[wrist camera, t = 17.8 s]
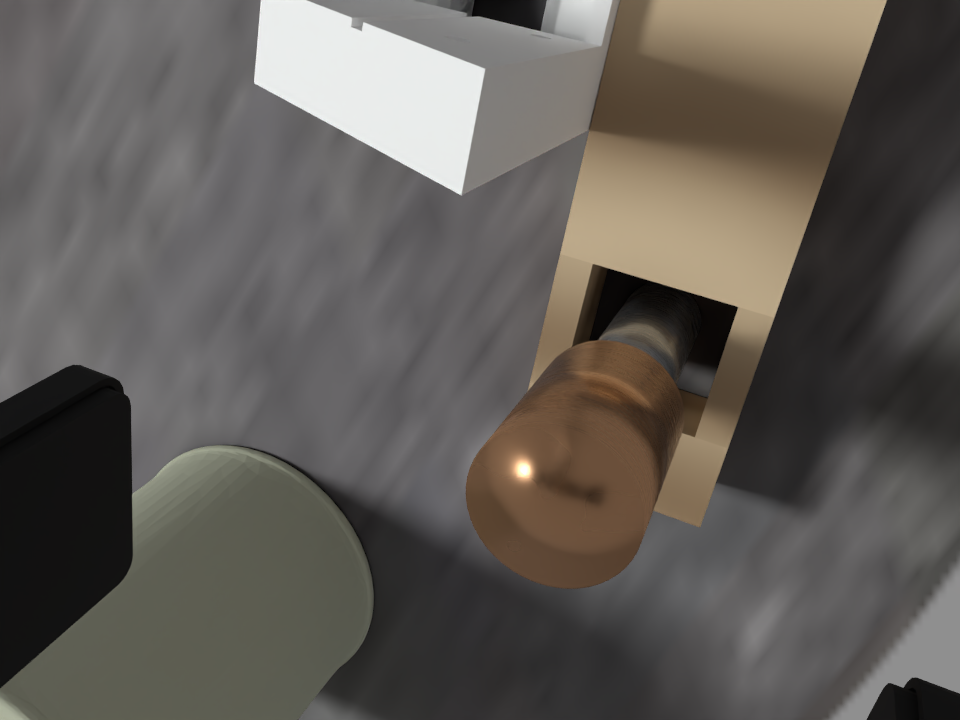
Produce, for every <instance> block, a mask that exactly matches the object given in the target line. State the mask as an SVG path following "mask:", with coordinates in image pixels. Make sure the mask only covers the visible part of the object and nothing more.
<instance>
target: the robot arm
mask: <svg viewBox="0 0 960 720" xmlns="http://www.w3.org/2000/svg"><path fill="white" fill-rule="evenodd" d="M132 559H133V522H132V454H131V405H130V400H129V398H128V396H126V395H125V394H124V391H123V387H122V385H121V383H120V381H118V380H117V379H115V378H113V377H110V376H107V375H105V374H102V373H99V372H97V371H94V370H91V369H89V368H86V367H83V366H81V365H72V366H69V367H66V368H64V369H62V370H60V371H59V372H57V373H55V374H53V375H51V376H49V377H47V378H46V379H44V380H42V381H40V382H38V383H36V384H35V385H33V386H31V387H29V388H27V389H25V390H23V391H22V392H20V393H18V394H16V395H14V396H12V397H10V398H9V399H7V400H5V401H3V402H1V403H0V688H1V687H3V686H4V685H5V684H6V683H7V682H8V681H9V680H11V679H12V678H13V677H14V676H15V675H16V674H17V673H19V672H20V671H21V670H22V669H23V668H24V667H25V666H27V665H28V664H29V663H30V662H31V661H32V660H33V659H34V658H36V657H37V656H38V655H39V654H40V653H41V652H42V651H44V650H45V649H46V648H47V647H48V646H49V645H50V644H52V643H53V642H54V641H55V640H56V639H57V638H58V637H60V636H61V635H62V634H63V633H64V632H65V631H66V630H68V629H69V628H70V627H71V626H72V625H73V624H74V623H76V622H77V621H78V620H79V619H80V618H81V617H82V616H84V615H85V614H86V613H87V612H88V611H89V610H90V609H91V608H93V607H94V606H95V605H96V604H97V603H98V602H99V601H101V600H102V599H103V598H104V597H105V596H106V595H107V594H109V593H110V592H111V591H112V590H113V589H114V588H115V587H117V586H118V585H119V584H120V583H121V582H122V580H123V579H124V578H125V576H126V575H127V573H128V571H129V569H130V567H131V563H132ZM867 720H960V694H959V693H956V692H954V691H951V690H948V689H946V688H943V687H940V686H937V685H935V684H932V683H929V682H927V681H924V680H921V679H919V678H912V679H910V680H909V681H908V682H907V684H906V685H905V687H904V688H902V687H899V686H897V685H894V684H891V683H888V684H887V685H886V686H885V687H884V689H883V690H882V692H881V694H880V695H879V697H878V699H877V701H876V703H875V705H874V707H873V709H872V711H871V712H870V714H869V716H868V718H867Z"/></svg>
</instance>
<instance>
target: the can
mask: <svg viewBox="0 0 960 720" xmlns="http://www.w3.org/2000/svg"><path fill="white" fill-rule="evenodd" d="M132 522H133V559H132V563H131V567H130V569H129V571H128V573H127V575H126V576H125V578H124V579H123V580H122V582H121V583H120V584H119V585H118V586H117V587H115V588H114V589H113V590H112V591H111V592H110V593H109V594H107V595H106V596H105V597H104V598H103V599H102V600H101V601H99V602H98V603H97V604H96V605H95V606H94V607H93V608H91V609H90V610H89V611H88V612H87V613H86V614H85V615H84V616H82V617H81V618H80V619H79V620H78V621H77V622H76V623H74V624H73V625H72V626H71V627H70V628H69V629H68V630H66V631H65V632H64V633H63V634H62V635H61V636H60V637H58V638H57V639H56V640H55V641H54V642H53V643H52V644H50V645H49V646H48V647H47V648H46V649H45V650H44V651H42V652H41V653H40V654H39V655H38V656H37V657H36V658H34V659H33V660H32V661H31V662H30V663H29V664H28V665H27V666H25V667H24V668H23V669H22V670H21V671H20V672H19V673H17V674H16V675H15V676H14V677H13V678H12V679H11V680H9V681H8V682H7V683H6V684H5V685H4V686H3V687H1V688H0V720H298V719H299V718H300V716H301V715H302V714H303V712H304V711H305V710H306V709H307V707H308V706H309V705H310V703H311V702H312V701H313V700H314V698H315V697H316V696H317V694H318V693H319V692H320V691H321V689H322V688H323V687H324V685H325V684H326V683H327V682H328V680H329V679H330V678H331V677H332V676H333V674H334V673H335V672H336V671H337V670H338V668H339V667H341V666H342V665H343V664H345V663H346V662H347V661H348V660H349V659H350V658H351V657H352V656H353V655H354V654H355V653H356V652H357V650H358V649H359V648H360V646H361V644H362V643H363V641H364V639H365V637H366V635H367V632H368V630H369V626H370V623H371V619H372V614H373V606H374V591H373V583H372V576H371V572H370V568H369V565H368V561H367V557H366V555H365V552H364V550H363V548H362V545H361V543H360V541H359V539H358V537H357V535H356V533H355V531H354V529H353V528H352V526H351V525H350V523H349V522H348V520H347V519H346V517H345V516H344V514H343V513H342V512H341V510H340V509H339V508H338V507H337V505H336V504H335V503H334V502H333V501H332V500H331V498H330V497H329V496H328V495H327V494H326V493H325V492H324V491H322V490H321V489H320V488H319V487H318V486H317V485H316V484H315V483H314V482H313V481H311V480H310V479H309V478H308V477H306V476H305V475H304V474H302V473H301V472H299V471H298V470H296V469H295V468H293V467H292V466H290V465H288V464H287V463H285V462H283V461H281V460H279V459H277V458H275V457H272V456H270V455H268V454H265V453H262V452H260V451H256V450H253V449H249V448H244V447H238V446H230V445H216V446H206V447H201V448H197V449H194V450H191V451H188V452H186V453H184V454H182V455H180V456H178V457H176V458H175V459H173V460H172V461H171V462H169V463H168V464H167V465H166V466H165V467H163V468H162V469H161V471H160V472H159V473H158V474H157V475H156V477H155V478H153V479H152V480H151V481H150V482H148V483H147V484H145V485H144V486H143V487H141V488H140V489H139V490H137V491H136V492H135V493H133V494H132Z"/></svg>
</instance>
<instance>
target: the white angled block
mask: <svg viewBox="0 0 960 720" xmlns="http://www.w3.org/2000/svg"><path fill="white" fill-rule="evenodd" d="M619 3H620V0H547V2H546V7H545V11H544V16H543V21H542V26H541V30H540V31H537V30H533V29H529V28H525V27H521V26H517V25H512V24H508V23H504V22H500V21H496V20H492V19H488V18H484V17H480V16H477V17H472V11H473V6H474V0H261V6H260V19H259V31H258V43H257V55H256V67H255V79H254V83H255V84H257V85H259V86H261V87H262V88H264V89H266V90H268V91H270V92H272V93H273V94H275V95H277V96H279V97H281V98H283V99H285V100H286V101H288V102H290V103H292V104H294V105H296V106H297V107H299V108H301V109H303V110H305V111H307V112H309V113H310V114H312V115H314V116H316V117H318V118H320V119H321V120H323V121H325V122H327V123H329V124H331V125H332V126H334V127H336V128H338V129H340V130H342V131H344V132H345V133H347V134H349V135H351V136H353V137H355V138H356V139H358V140H360V141H362V142H364V143H366V144H368V145H369V146H371V147H373V148H375V149H377V150H379V151H380V152H382V153H384V154H386V155H388V156H390V157H392V158H393V159H395V160H397V161H399V162H401V163H403V164H404V165H406V166H408V167H410V168H412V169H414V170H415V171H417V172H419V173H421V174H423V175H425V176H427V177H428V178H430V179H432V180H434V181H436V182H438V183H439V184H441V185H443V186H445V187H447V188H449V189H451V190H452V191H454V192H456V193H458V194H460V195H463V194H465V193H467V192H469V191H471V190H473V189H475V188H477V187H479V186H481V185H483V184H485V183H486V182H488V181H490V180H492V179H494V178H496V177H498V176H500V175H502V174H504V173H506V172H508V171H510V170H512V169H514V168H516V167H518V166H520V165H522V164H523V163H525V162H527V161H529V160H531V159H533V158H535V157H537V156H539V155H541V154H543V153H545V152H547V151H549V150H551V149H553V148H555V147H557V146H559V145H561V144H562V143H564V142H566V141H568V140H570V139H572V138H574V137H576V136H578V135H580V134H582V133H584V132H586V131H588V130H590V126H591V122H592V118H593V113H594V109H595V105H596V101H597V96H598V92H599V88H600V84H601V80H602V75H603V71H604V67H605V63H606V58H607V54H608V50H609V46H610V41H611V37H612V33H613V29H614V25H615V20H616V16H617V12H618V8H619Z"/></svg>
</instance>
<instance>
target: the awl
mask: <svg viewBox="0 0 960 720" xmlns="http://www.w3.org/2000/svg"><path fill="white" fill-rule="evenodd" d="M700 325H701V315H700V310H699V307H698V305H697V303H696V301H695V300H694V298H693V297H692V296H691V295H690V294H689V293H688V292H686V291H683V290H680V289H676V288H673V287H669V286H666V285H663V284H659V283H656V282H651V283H648V284H645V285H643V286H641V287H639V288H638V289H636V290H635V291H634V292H633V293H632V294H631V295H630V297H629V298H628V299H627V301H626V302H625V303H624V305H623V306H622V308H621V309H620V310H619V312H618V313H617V314H616V316H615V317H614V319H613V320H612V321H611V323H610V324H609V326H608V327H607V328H606V330H605V331H604V332H603V334H602V335H601V337H600V338H599V339H598V340H596V341H589V342H585V343H581V344H578V345H575V346H573V347H571V348H569V349H567V350H565V351H564V352H562V353H561V354H560V355H558V356H557V357H556V358H555V359H554V360H553V361H552V362H551V363H550V364H549V366H548V367H547V368H546V369H545V371H544V372H543V373H542V374H541V375H540V377H539V378H538V379H537V380H536V382H535V383H534V384H533V385H532V387H531V388H530V389H529V390H528V392H527V393H526V394H525V395H524V396H523V398H522V399H521V400H520V401H519V403H518V404H517V405H516V406H515V408H514V409H513V410H512V411H511V413H510V414H509V415H508V416H507V417H506V419H505V420H504V421H503V422H502V424H501V425H500V426H499V427H498V429H497V430H496V431H495V432H494V434H493V435H492V436H491V437H490V438H489V440H488V441H487V442H486V443H485V445H484V446H483V447H482V448H481V450H480V451H479V452H478V454H477V455H476V457H475V458H474V460H473V462H472V465H471V467H470V470H469V473H468V476H467V483H466V501H467V508H468V512H469V515H470V519H471V521H472V523H473V526H474V528H475V530H476V532H477V534H478V535H479V537H480V539H481V540H482V542H483V543H484V544H485V546H486V547H487V548H488V549H489V551H490V552H491V553H492V554H493V555H494V556H495V557H496V558H497V559H498V560H499V561H500V562H502V563H503V564H504V565H505V566H507V567H508V568H509V569H511V570H512V571H514V572H516V573H517V574H519V575H521V576H522V577H525V578H527V579H529V580H531V581H534V582H537V583H539V584H542V585H546V586H551V587H556V588H565V589H576V588H585V587H590V586H594V585H598V584H600V583H603V582H605V581H607V580H609V579H611V578H613V577H614V576H616V575H618V574H619V573H620V572H621V571H622V570H624V569H625V568H626V567H627V565H628V564H629V563H630V562H631V561H632V560H633V558H634V556H635V555H636V553H637V551H638V549H639V547H640V544H641V542H642V539H643V536H644V534H645V531H646V528H647V526H648V523H649V520H650V518H651V515H652V512H653V510H654V507H655V504H656V502H657V499H658V497H659V494H660V491H661V489H662V486H663V483H664V481H665V478H666V475H667V473H668V470H669V467H670V465H671V462H672V459H673V457H674V454H675V451H676V449H677V446H678V443H679V441H680V438H681V435H682V431H683V427H684V407H683V402H682V398H681V395H680V392H679V389H678V387H677V385H676V383H677V381H678V378H679V376H680V374H681V372H682V369H683V367H684V365H685V362H686V360H687V358H688V356H689V353H690V351H691V349H692V347H693V344H694V342H695V340H696V338H697V335H698V333H699V330H700Z"/></svg>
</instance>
